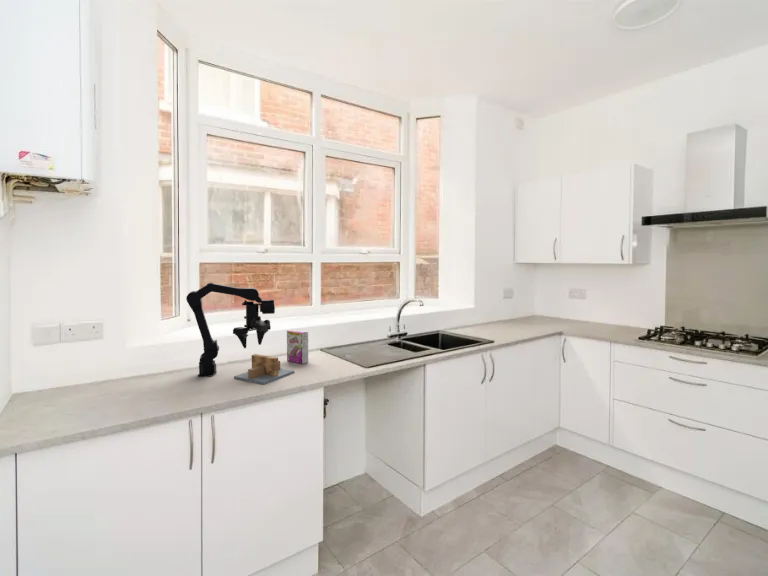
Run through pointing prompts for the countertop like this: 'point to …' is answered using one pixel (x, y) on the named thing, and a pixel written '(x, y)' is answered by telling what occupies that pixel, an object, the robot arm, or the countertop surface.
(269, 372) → the crossbar
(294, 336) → the candy bar box
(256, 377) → the joint board
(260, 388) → the countertop surface
